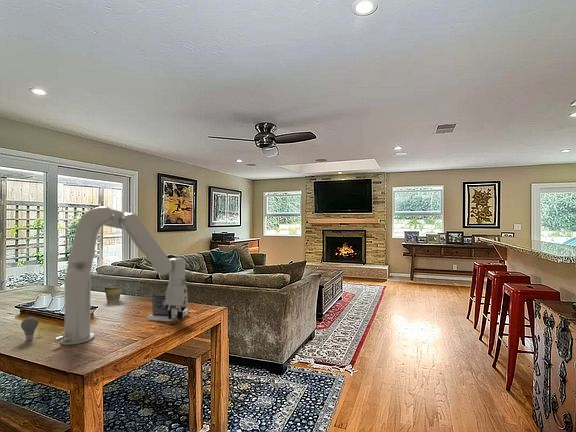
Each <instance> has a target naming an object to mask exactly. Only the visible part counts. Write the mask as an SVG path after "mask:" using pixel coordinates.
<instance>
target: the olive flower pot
mask: <svg viewBox="0 0 576 432" xmlns="http://www.w3.org/2000/svg"><path fill="white" fill-rule="evenodd" d="M122 289H123V285H122V284H118V283H117V284H108V285H105V286H104V293H105V297H106V302H107V303H108V304H113V303H117V302H120V298H121V294H122Z"/></svg>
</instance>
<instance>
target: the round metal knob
mask: <svg viewBox="0 0 576 432" xmlns="http://www.w3.org/2000/svg"><path fill="white" fill-rule="evenodd" d="M178 312H179V307H178V306H176V307H172V308H171V322H179V321H180V320H178Z"/></svg>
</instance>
